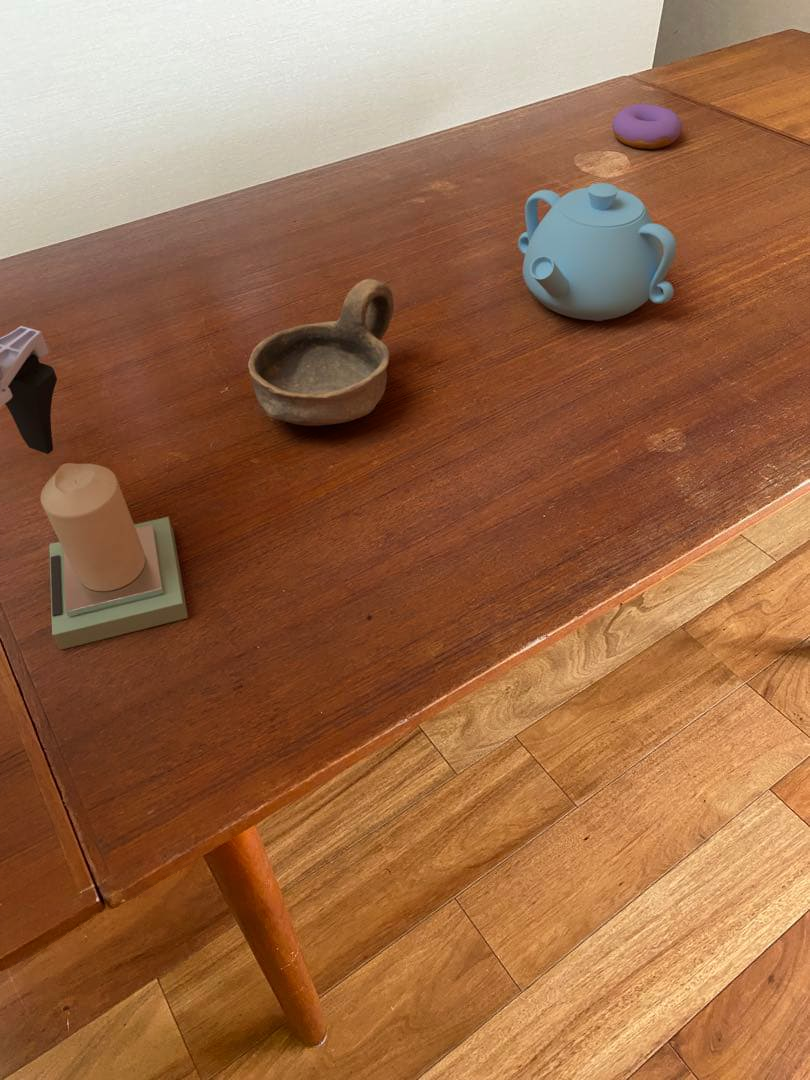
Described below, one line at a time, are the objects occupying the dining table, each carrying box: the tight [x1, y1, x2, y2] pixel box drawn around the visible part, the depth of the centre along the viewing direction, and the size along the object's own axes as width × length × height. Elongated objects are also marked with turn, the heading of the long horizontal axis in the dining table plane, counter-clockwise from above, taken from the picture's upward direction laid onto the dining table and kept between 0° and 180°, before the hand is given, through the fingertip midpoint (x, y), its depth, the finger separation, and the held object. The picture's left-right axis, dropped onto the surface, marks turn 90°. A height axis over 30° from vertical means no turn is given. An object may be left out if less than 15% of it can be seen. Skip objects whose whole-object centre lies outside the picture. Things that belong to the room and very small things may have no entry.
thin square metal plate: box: [63, 525, 164, 617], centre depth 70 cm, size 7×7×1 cm
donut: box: [611, 103, 682, 150], centre depth 126 cm, size 10×9×5 cm
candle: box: [40, 462, 145, 591], centre depth 66 cm, size 6×6×10 cm
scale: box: [48, 516, 189, 651], centre depth 71 cm, size 10×10×2 cm
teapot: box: [517, 182, 677, 322], centre depth 94 cm, size 20×20×13 cm
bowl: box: [247, 278, 395, 427], centre depth 84 cm, size 14×18×10 cm
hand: (7, 478), depth 67 cm, fingers open, 7 cm apart
